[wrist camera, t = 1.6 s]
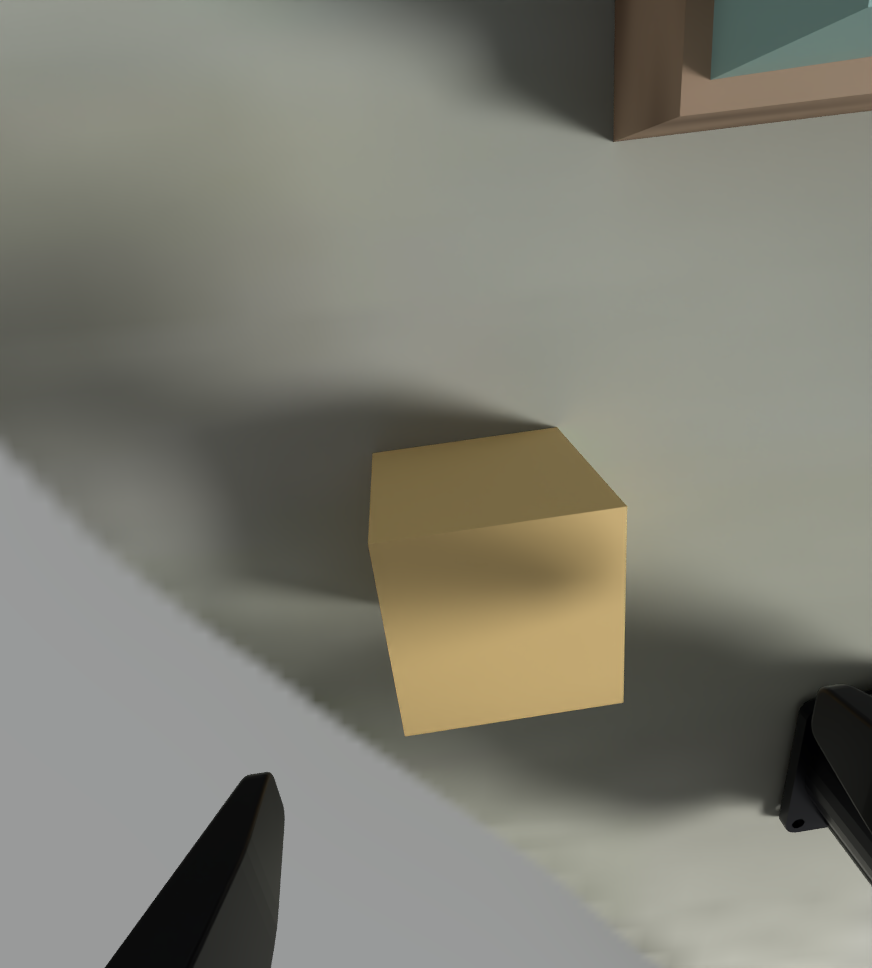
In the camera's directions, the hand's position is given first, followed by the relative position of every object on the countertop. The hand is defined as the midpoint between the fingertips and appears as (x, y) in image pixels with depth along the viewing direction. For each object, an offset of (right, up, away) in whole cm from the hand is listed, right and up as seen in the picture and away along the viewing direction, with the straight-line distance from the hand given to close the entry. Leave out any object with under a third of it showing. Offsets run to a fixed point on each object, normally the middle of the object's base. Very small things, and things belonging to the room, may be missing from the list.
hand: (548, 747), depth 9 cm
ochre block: (-1, +3, +7) cm, 8 cm away
